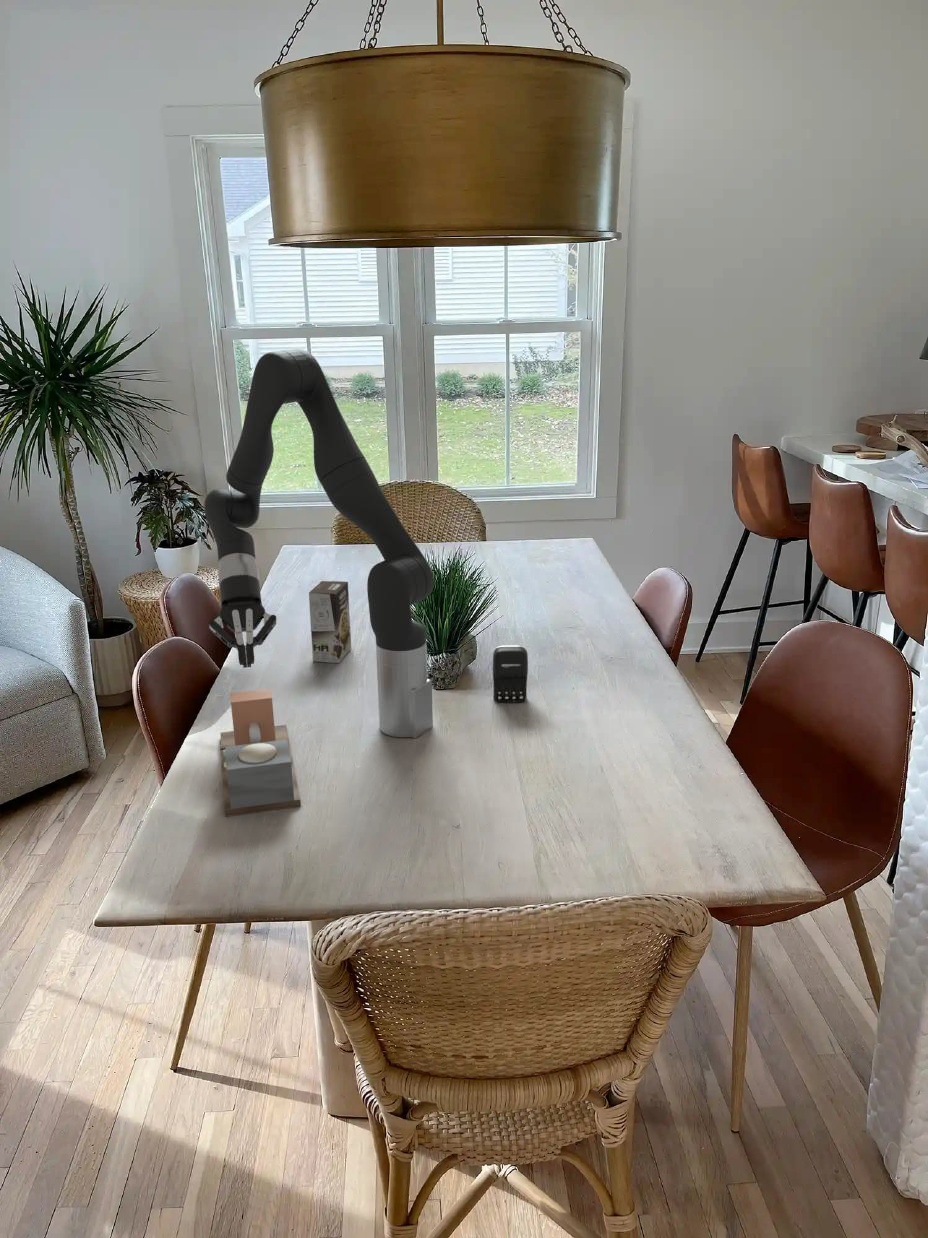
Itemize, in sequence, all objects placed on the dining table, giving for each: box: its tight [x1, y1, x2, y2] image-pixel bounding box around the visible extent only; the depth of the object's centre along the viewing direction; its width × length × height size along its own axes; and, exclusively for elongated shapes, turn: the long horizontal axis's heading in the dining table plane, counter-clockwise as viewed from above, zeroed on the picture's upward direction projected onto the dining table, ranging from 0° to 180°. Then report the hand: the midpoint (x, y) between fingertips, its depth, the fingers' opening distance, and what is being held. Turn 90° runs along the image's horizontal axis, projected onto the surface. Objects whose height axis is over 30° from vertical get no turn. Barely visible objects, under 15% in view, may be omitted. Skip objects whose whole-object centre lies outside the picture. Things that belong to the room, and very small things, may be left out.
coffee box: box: [308, 580, 352, 664], centre depth 215 cm, size 9×6×16 cm
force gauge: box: [220, 724, 302, 817], centre depth 168 cm, size 28×12×9 cm, turn 14°
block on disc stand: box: [219, 688, 276, 751], centre depth 170 cm, size 9×10×10 cm
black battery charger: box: [492, 644, 529, 704], centre depth 192 cm, size 7×4×11 cm, turn 90°
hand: (247, 665), depth 179 cm, fingers closed
